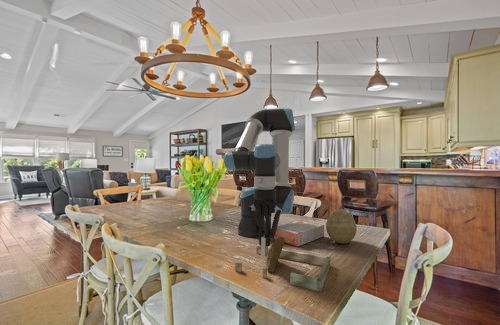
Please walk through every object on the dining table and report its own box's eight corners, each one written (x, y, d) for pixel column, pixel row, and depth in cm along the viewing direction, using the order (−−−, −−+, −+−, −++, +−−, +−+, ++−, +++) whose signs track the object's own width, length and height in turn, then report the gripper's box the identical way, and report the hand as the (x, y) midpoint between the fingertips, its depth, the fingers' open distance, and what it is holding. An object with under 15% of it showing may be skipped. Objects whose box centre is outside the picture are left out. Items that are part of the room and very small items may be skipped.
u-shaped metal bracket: (235, 271, 79) (235, 262, 79) (257, 252, 95) (257, 244, 95) (321, 291, 67) (321, 281, 67) (330, 265, 83) (330, 257, 83)
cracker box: (301, 231, 124) (273, 239, 110) (301, 219, 124) (273, 226, 110) (324, 237, 113) (297, 247, 100) (324, 224, 113) (297, 233, 100)
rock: (279, 270, 75) (295, 257, 82) (267, 245, 77) (283, 234, 85) (257, 278, 81) (273, 265, 89) (246, 254, 83) (263, 244, 91)
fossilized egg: (356, 249, 97) (356, 213, 97) (324, 245, 102) (324, 210, 102) (356, 240, 109) (356, 207, 109) (327, 236, 114) (327, 205, 114)
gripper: (243, 188, 83) (243, 255, 83) (278, 190, 77) (278, 262, 77) (253, 186, 90) (252, 248, 90) (285, 188, 84) (285, 254, 84)
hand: (264, 254), depth 84 cm, fingers closed
